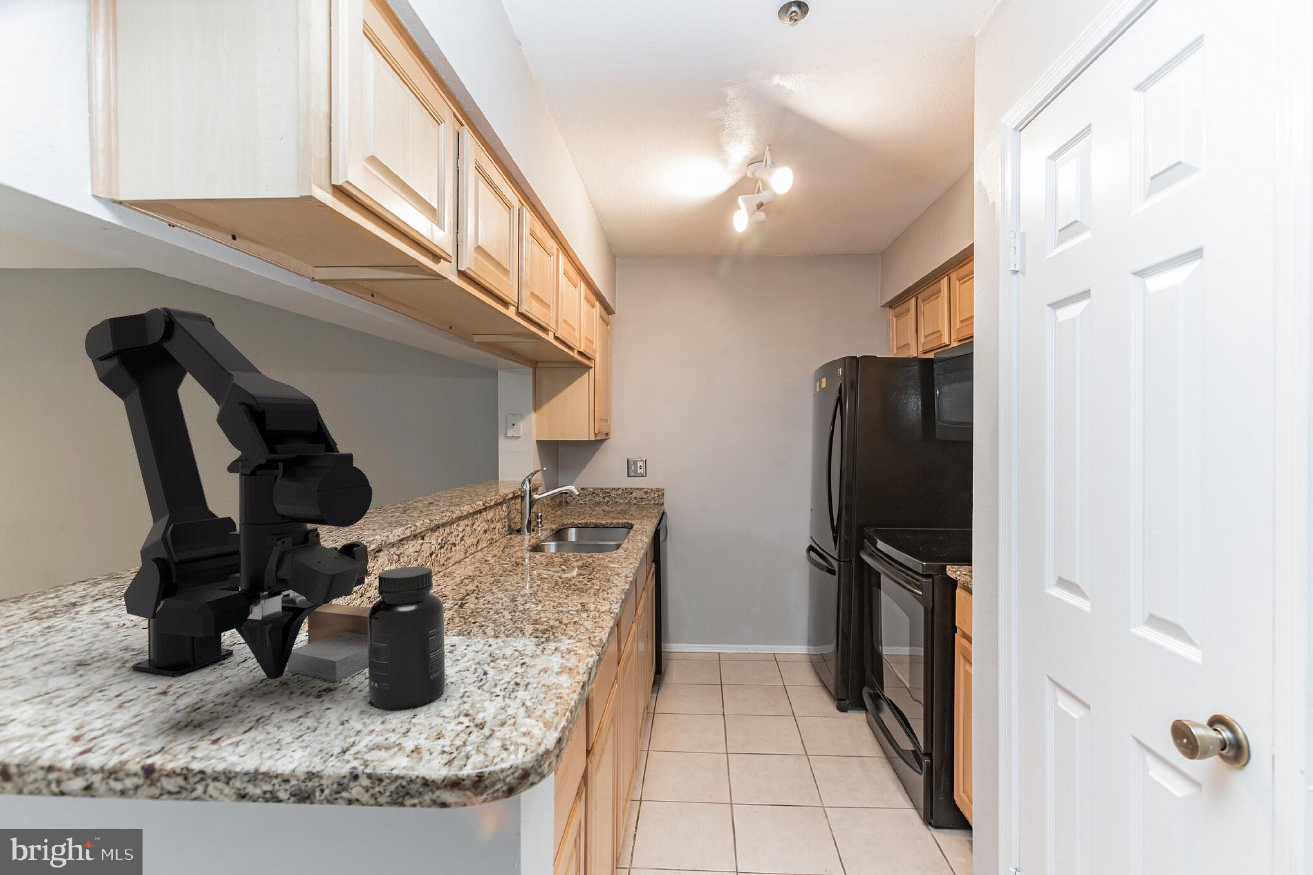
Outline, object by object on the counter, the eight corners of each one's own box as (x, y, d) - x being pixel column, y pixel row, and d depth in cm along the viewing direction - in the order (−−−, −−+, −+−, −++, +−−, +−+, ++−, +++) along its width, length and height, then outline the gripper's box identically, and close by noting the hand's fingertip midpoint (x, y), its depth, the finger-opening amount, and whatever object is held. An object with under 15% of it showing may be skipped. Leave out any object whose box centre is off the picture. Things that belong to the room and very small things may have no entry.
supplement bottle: (421, 674, 63) (421, 560, 63) (458, 693, 59) (458, 570, 59) (354, 697, 58) (354, 572, 58) (389, 719, 54) (389, 584, 53)
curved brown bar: (307, 643, 72) (307, 610, 72) (327, 635, 75) (327, 603, 75) (407, 655, 68) (407, 620, 68) (424, 646, 71) (424, 612, 71)
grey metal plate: (287, 674, 64) (287, 651, 64) (343, 652, 71) (343, 631, 70) (336, 685, 61) (336, 661, 61) (389, 661, 68) (389, 639, 68)
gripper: (255, 541, 48) (256, 734, 49) (406, 510, 67) (407, 651, 67) (150, 534, 51) (151, 717, 51) (322, 507, 69) (323, 642, 70)
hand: (275, 677), depth 60 cm, fingers closed
